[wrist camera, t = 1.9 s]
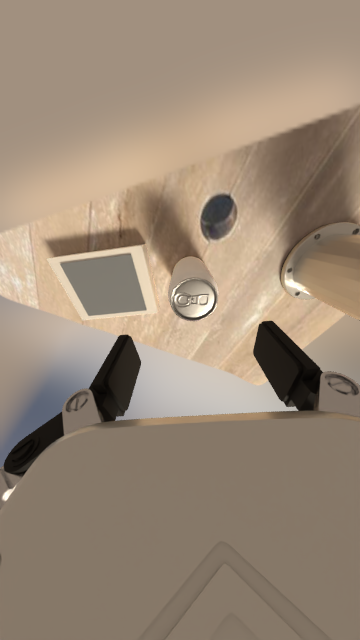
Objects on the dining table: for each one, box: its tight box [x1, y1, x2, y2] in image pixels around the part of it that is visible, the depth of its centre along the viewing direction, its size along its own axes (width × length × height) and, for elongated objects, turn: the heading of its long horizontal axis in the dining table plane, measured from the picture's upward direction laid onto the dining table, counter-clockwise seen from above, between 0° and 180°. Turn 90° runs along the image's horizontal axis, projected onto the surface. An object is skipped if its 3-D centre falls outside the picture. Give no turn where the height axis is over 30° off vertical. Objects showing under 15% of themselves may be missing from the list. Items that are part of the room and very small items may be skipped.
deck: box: [47, 244, 160, 320], centre depth 27 cm, size 16×12×3 cm
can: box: [168, 256, 218, 321], centre depth 22 cm, size 6×6×12 cm
